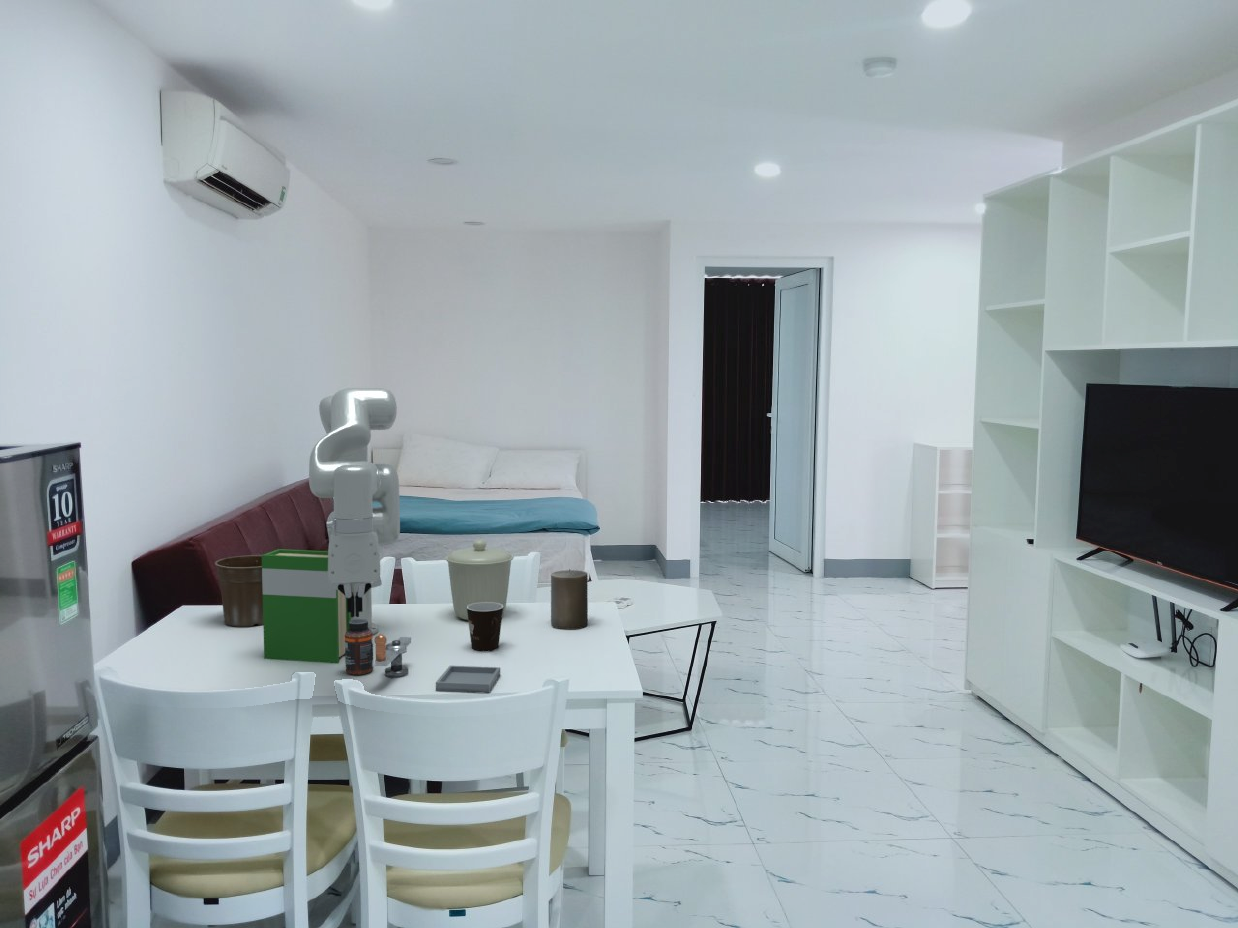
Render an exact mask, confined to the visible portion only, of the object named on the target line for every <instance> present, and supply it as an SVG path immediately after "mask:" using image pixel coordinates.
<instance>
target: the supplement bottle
mask: <svg viewBox="0 0 1238 928" xmlns="http://www.w3.org/2000/svg"><path fill="white" fill-rule="evenodd" d="M373 638H374V634H373V633H372V631H371V630H370V629H369V628H368V620H365V619H356V620H352V621H350V622H349V630H348V631H347V632H346V633H345V661H344V662H345V663H344V664H345V673H347V674H349V675H352V676H361V675H366V674H370V673H371V672H372V671H374V639H373Z"/></svg>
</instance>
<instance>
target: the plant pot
mask: <svg viewBox="0 0 1238 928" xmlns="http://www.w3.org/2000/svg"><path fill="white" fill-rule="evenodd" d="M262 555H263V554H261V555H259V554H251V555H238V556H230V557H224V558H221V559H218V560H216V561H215V562H214V565H215V566H216V570H217V579H219V583H220V586H219V587H220V593H221V602H222V612H223V622H224V624H226V625H227V626H231V627H237V628H244V627H245V628H246V627H247V628H249V627H253V626H254V625H258V626H264V625H263V586H262Z"/></svg>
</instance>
